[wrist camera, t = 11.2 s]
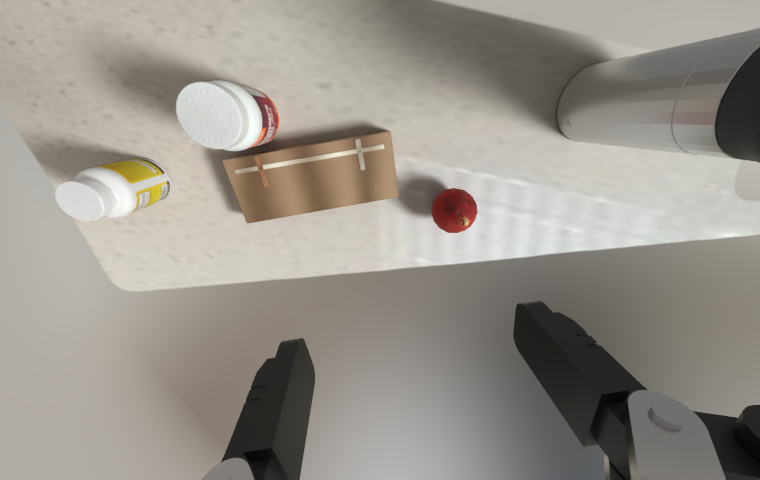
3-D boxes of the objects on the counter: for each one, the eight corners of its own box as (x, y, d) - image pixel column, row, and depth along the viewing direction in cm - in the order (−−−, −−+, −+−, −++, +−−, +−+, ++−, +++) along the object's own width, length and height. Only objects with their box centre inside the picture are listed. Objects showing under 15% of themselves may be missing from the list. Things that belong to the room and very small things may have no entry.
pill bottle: (278, 149, 34) (246, 163, 24) (226, 136, 33) (170, 146, 23) (283, 96, 32) (251, 87, 22) (228, 81, 31) (166, 63, 20)
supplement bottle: (117, 160, 33) (30, 176, 24) (162, 154, 33) (92, 169, 24) (138, 202, 35) (67, 231, 26) (180, 197, 36) (123, 224, 27)
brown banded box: (387, 130, 34) (390, 131, 32) (395, 191, 38) (398, 197, 35) (232, 157, 34) (221, 160, 31) (254, 215, 37) (246, 223, 35)
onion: (418, 199, 39) (433, 219, 31) (451, 174, 38) (475, 188, 30) (439, 228, 41) (457, 252, 34) (471, 205, 40) (497, 225, 33)
